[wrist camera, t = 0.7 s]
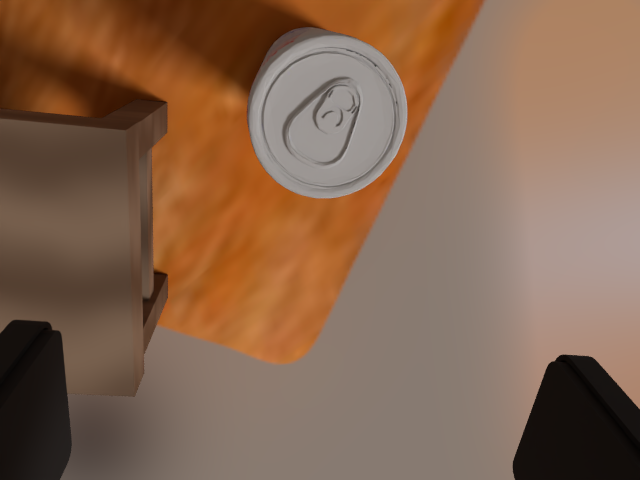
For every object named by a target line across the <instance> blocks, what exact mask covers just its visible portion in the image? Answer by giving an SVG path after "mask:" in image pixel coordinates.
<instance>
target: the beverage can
mask: <svg viewBox="0 0 640 480" xmlns="http://www.w3.org/2000/svg"><path fill="white" fill-rule="evenodd" d="M247 123H248V128H249V132H250V137H251V142H252V145H253V148H254V151H255V153H256V155H257V157H258V159H259V161H260V163H261V165H262V166H263V167H264V169H265V170H266V171H267V173H268V174H269V175H270V176H271V177H272V178H273V179H274V180H275V181H276V182H278V183H279V184H281V185H282V186H284V187H285V188H287V189H289V190H290V191H293V192H295V193H297V194H300V195H304V196H308V197H313V198H335V197H341V196H344V195H348V194H351V193H353V192H356V191H358V190H360V189H362V188H364V187H365V186H367V185H368V184H370V183H371V182H372V181H374V180H375V179H376V178H377V177H378V176H380V175H381V174H382V173H383V171H384V170H385V169H386V168H387V167H388V165H389V164H390V163H391V161H392V160H393V159H394V157H395V156H396V154H397V152H398V150H399V147H400V145H401V143H402V140H403V137H404V133H405V130H406V123H407V102H406V96H405V92H404V88H403V85H402V82H401V80H400V77H399V76H398V74H397V72H396V71H395V69H394V67H393V66H392V64H391V63H390V62H389V60H388V59H387V58H386V57H385V56H384V55H383V54H382V53H381V52H379V51H378V50H376V49H375V48H374V47H372V46H371V45H369V44H367V43H365V42H363V41H361V40H359V39H357V38H354V37H351V36H348V35H344V34H340V33H336V32H332V31H328V30H323V29H319V28H314V27H304V28H298V29H294V30H292V31H289V32H287V33H286V34H284V35H282V36H281V37H280V38H279V39H277V40H276V41H275V42H274V43H273V45H272V46H271V47H270V49H269V50H268V52H267V54H266V56H265V58H264V60H263V63H262V65H261V67H260V69H259V71H258V73H257V75H256V77H255V79H254V81H253V84H252V87H251V90H250V94H249V98H248V105H247Z"/></svg>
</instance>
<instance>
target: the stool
mask: <svg viewBox="0 0 640 480" xmlns="http://www.w3.org/2000/svg"><path fill="white" fill-rule="evenodd" d="M166 133H167V102H158V101H148V100H138V99H136V100H134V101H132V102H131V103H129V104H127V105H125V106H123V107H121V108H119V109H118V110H116V111H114V112H112V113H110V114H108V115H107V116H105V117H103V118H93V117H82V116H72V115H61V114H51V113H41V112H30V111H20V110H9V109H0V333H1V332H2V331H3V330H4V328H5V327H6V326H7V325H8V324H9V323H10V322H11V321H12V320H31V321H47V322H49V323H50V324H51V326H52V330H58V331H60V332H61V335H62V342H63V353H64V364H65V375H66V386H67V394H87V395H109V396H133V397H134V396H135V395H136V392H137V390H138V387H139V385H140V382H141V379H142V377H143V374H144V354H145V351H146V349H147V346H148V344H149V342H150V339H151V337H152V334H153V332H154V329H155V327H156V325H157V322H158V320H159V318H160V315H161V313H162V310H163V308H164V305H165V303H166V301H167V298H168V275H165V274H153V207H152V147H153V146H154V145H155V144H156V143H157V142H158V141H159V140H160V139H161V138H162V137H163V136H164V135H165V134H166Z"/></svg>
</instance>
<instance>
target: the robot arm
mask: <svg viewBox="0 0 640 480" xmlns="http://www.w3.org/2000/svg"><path fill="white" fill-rule="evenodd" d="M71 446H72V443H71V430H70V419H69V408H68V397H67V386H66V375H65V364H64V353H63V342H62V335H61V332H60V331H58V330H52V326H51V324H50V323H49V322H47V321H31V320H12V321H11V322H10V323H9V324H8V325H7V326H6V327H5V328H4V330H3V331H2V332H1V333H0V480H60V478H61V476H62V474H63V471H64V469H65V468H66V465H67V463H68V461H69V457H70V453H71ZM513 473H514V478H515V480H640V409H639V408H638V407H637V406H636V405H635V404H634V403H633V402H632V400H631V399H630V398H629V397H628V396H627V395H626V393H625V392H624V391H623V390H622V389H621V388H620V387H619V386H618V385H617V383H616V382H615V381H614V380H613V379H612V378H611V377H610V376H609V375H608V373H607V372H606V371H605V370H604V369H603V368H602V367H601V366H600V364H599V363H598V362H597V361H596V360H595V359H594V358H592V357H589V356H577V355H560V356H559V357H558V358H557V359H556V360H555V361H554V362H551V363H550V364H549V365H548V367H547V369H546V371H545V374H544V377H543V380H542V383H541V386H540V388H539V391H538V394H537V396H536V399H535V402H534V405H533V407H532V410H531V413H530V416H529V419H528V421H527V424H526V427H525V430H524V432H523V435H522V438H521V441H520V443H519V446H518V449H517V452H516V454H515V457H514V461H513Z"/></svg>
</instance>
